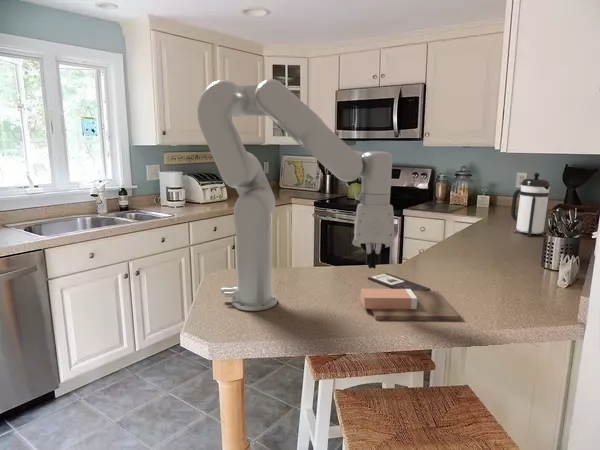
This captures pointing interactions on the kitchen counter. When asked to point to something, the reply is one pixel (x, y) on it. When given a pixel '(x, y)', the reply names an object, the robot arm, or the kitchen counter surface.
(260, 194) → the robot arm
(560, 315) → the kitchen counter surface
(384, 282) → the chocolate bar
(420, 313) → the board
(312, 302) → the kitchen counter surface
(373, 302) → the slab
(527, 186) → the coffee press
